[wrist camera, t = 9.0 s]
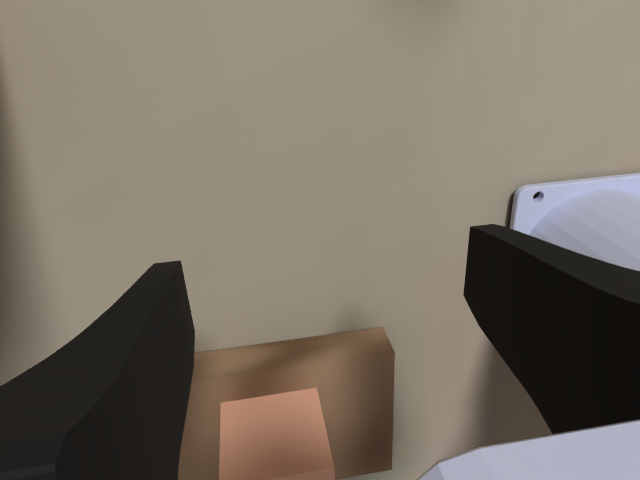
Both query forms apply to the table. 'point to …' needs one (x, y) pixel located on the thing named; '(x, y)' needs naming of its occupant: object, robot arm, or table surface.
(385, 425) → the walnut board
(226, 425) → the terracotta cube
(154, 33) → the table surface
